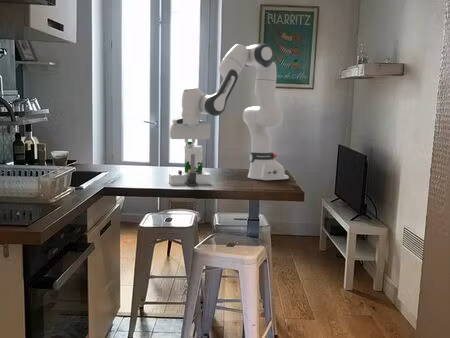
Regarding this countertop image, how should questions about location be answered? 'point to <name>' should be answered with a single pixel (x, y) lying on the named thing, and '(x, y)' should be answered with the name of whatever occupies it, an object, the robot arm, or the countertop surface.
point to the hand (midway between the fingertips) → (189, 148)
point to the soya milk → (198, 157)
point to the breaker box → (183, 178)
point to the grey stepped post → (192, 173)
